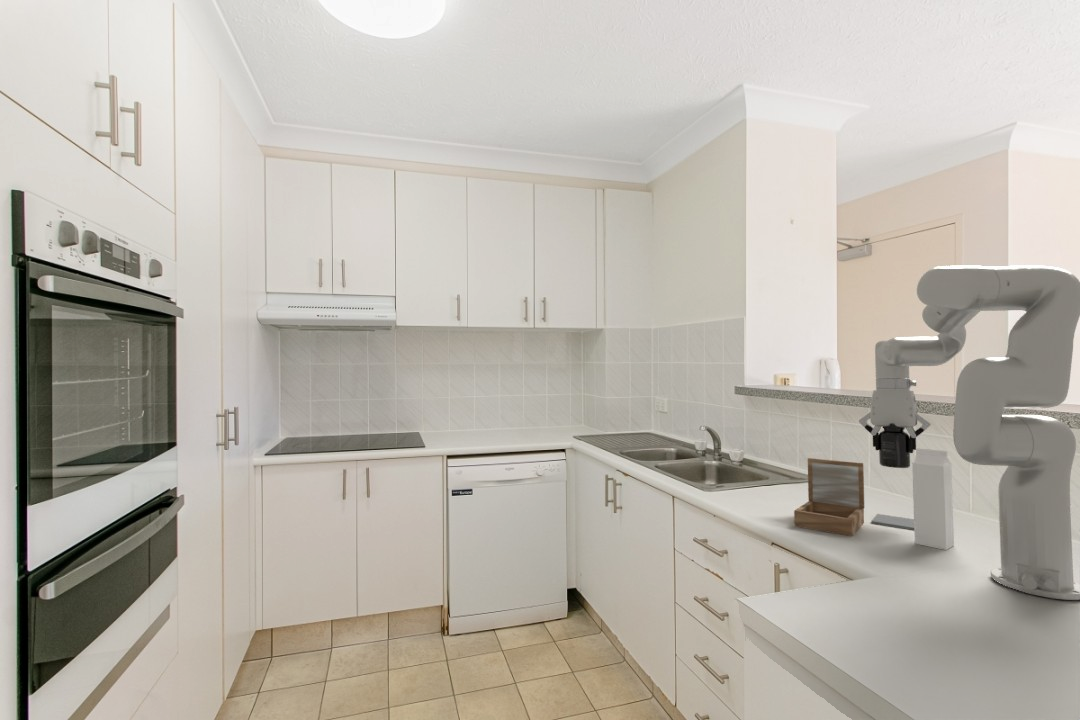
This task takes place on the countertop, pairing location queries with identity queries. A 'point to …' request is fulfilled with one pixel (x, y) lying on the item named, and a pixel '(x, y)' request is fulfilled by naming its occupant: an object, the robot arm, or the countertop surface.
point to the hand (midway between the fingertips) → (894, 450)
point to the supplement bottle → (894, 447)
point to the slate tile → (894, 521)
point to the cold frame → (833, 497)
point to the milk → (933, 499)
